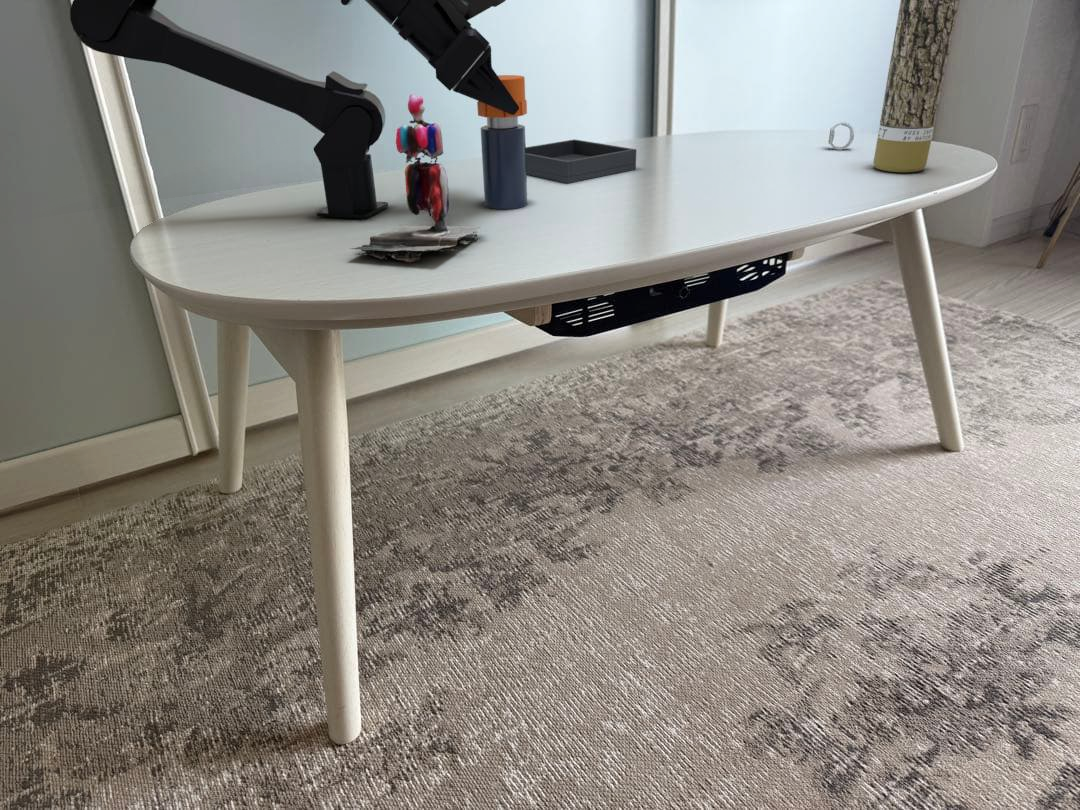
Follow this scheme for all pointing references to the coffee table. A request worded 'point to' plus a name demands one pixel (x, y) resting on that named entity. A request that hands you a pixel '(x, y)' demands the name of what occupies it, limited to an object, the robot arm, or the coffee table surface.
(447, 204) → the statue
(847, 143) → the grey ring
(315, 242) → the coffee table surface
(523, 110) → the spray can cap
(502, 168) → the spray can
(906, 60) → the paper tube
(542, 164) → the tray
